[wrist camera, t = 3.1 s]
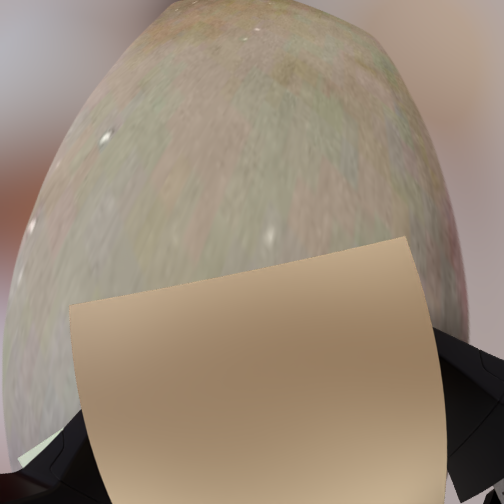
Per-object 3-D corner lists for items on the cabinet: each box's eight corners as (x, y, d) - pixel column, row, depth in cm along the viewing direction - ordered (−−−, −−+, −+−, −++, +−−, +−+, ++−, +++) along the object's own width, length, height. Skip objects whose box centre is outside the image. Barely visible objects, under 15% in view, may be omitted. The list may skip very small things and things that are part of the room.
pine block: (327, 409, 13) (441, 519, 2) (231, 428, 13) (147, 567, 2) (308, 319, 15) (404, 236, 4) (212, 338, 15) (68, 305, 4)
